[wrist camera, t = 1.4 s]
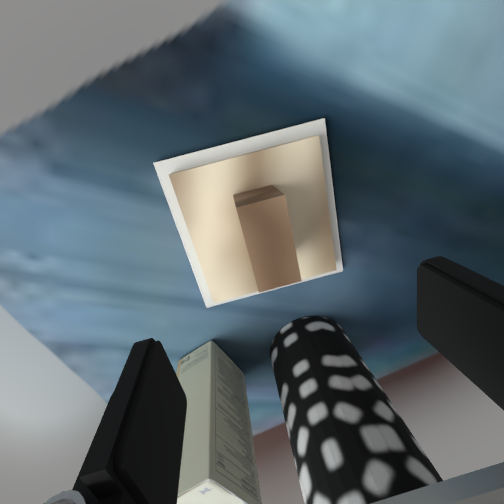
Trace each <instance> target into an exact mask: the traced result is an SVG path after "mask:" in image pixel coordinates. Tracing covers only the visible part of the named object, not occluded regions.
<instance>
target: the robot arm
mask: <svg viewBox="0 0 504 504" xmlns="http://www.w3.org/2000/svg"><path fill="white" fill-rule="evenodd" d="M417 328H418V331H419V333H420V334H421V336H422V337H423V338H424V339H426V340H427V341H428V342H429V343H430V344H431V345H432V346H433V347H434V348H435V349H437V350H438V351H439V352H440V353H441V354H442V355H443V356H444V357H445V358H447V359H448V360H449V361H450V362H451V363H452V364H453V365H454V366H455V367H456V368H458V369H459V370H460V371H461V372H462V373H463V374H464V375H465V376H466V377H468V378H469V379H470V380H471V381H472V382H473V383H474V384H475V385H476V386H478V387H479V388H480V389H481V390H482V391H483V392H484V393H485V394H486V395H488V397H490V398H491V399H492V400H493V401H494V402H495V403H496V404H497V405H498V406H500V407H501V408H502V409H503V410H504V286H503V285H501V284H499V283H497V282H494V281H492V280H490V279H488V278H486V277H484V276H482V275H480V274H478V273H476V272H473V271H471V270H469V269H467V268H465V267H463V266H461V265H459V264H457V263H455V262H452V261H450V260H448V259H446V258H444V257H441V256H439V257H435V258H431V259H428V260H424V261H422V262H421V264H420V266H419V267H418V269H417ZM186 412H187V398H186V394H185V392H184V390H183V388H182V386H181V384H180V382H179V380H178V377H177V375H176V373H175V371H174V369H173V367H172V365H171V363H170V361H169V359H168V357H167V354H166V352H165V350H164V348H163V346H162V344H161V342H160V341H155V340H154V339H153V338H150V339H146V340H143V341H139V342H136V343H134V345H133V347H132V349H131V352H130V354H129V356H128V359H127V361H126V364H125V366H124V369H123V371H122V374H121V376H120V378H119V381H118V383H117V386H116V388H115V391H114V392H113V394H112V396H111V398H110V400H109V403H108V405H107V407H106V410H105V412H104V415H103V417H102V419H101V422H100V424H99V427H98V429H97V432H96V434H95V436H94V439H93V441H92V444H91V446H90V448H89V451H88V453H87V456H86V458H85V461H84V463H83V465H82V468H81V470H80V472H79V475H78V477H77V480H76V482H75V484H74V487H73V489H72V490H68V491H63V492H61V493H59V494H57V495H55V496H53V497H51V498H50V499H49V500H47V501H46V502H45V503H43V504H177V498H178V488H179V479H180V469H181V459H182V450H183V440H184V431H185V421H186ZM371 504H504V462H503V463H499V464H496V465H493V466H490V467H486V468H483V469H480V470H476V471H473V472H470V473H467V474H464V475H460V476H457V477H454V478H451V479H448V480H445V481H441V482H438V483H435V484H432V485H428V486H425V487H422V488H419V489H416V490H412V491H409V492H406V493H403V494H400V495H397V496H393V497H390V498H387V499H384V500H381V501H377V502H374V503H371Z"/></svg>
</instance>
